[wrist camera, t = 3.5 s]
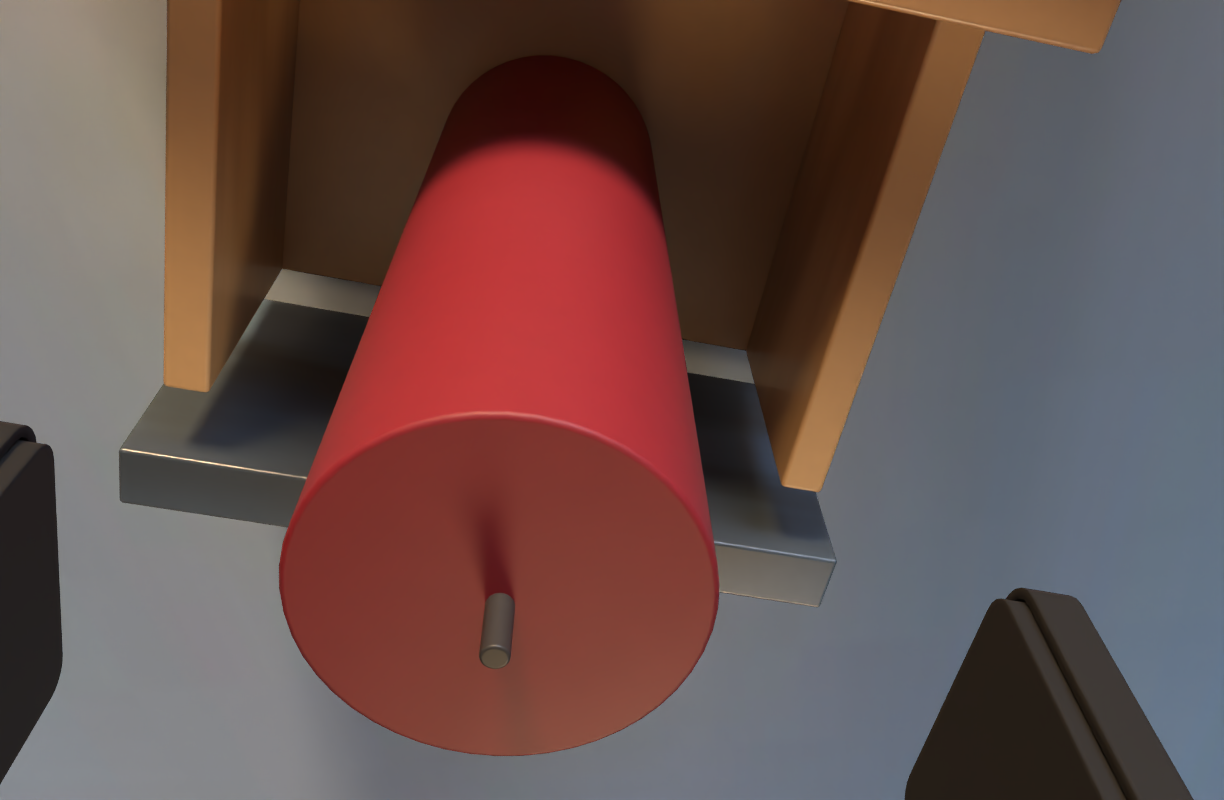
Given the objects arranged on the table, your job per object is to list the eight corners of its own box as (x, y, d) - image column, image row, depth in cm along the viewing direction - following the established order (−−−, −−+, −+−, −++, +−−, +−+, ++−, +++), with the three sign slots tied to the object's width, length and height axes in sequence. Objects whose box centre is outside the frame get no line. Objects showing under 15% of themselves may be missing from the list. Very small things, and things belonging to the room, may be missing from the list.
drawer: (724, 575, 30) (757, 774, 24) (216, 498, 29) (121, 690, 23) (962, -164, 21) (1103, -134, 16) (248, -333, 20) (105, -370, 14)
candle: (486, 285, 25) (376, 858, 12) (405, 95, 23) (167, 543, 10) (678, 224, 24) (779, 760, 11) (613, 23, 22) (647, 401, 9)
